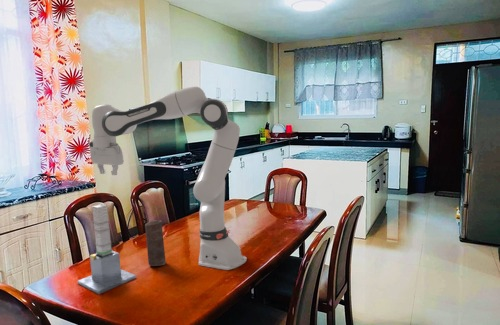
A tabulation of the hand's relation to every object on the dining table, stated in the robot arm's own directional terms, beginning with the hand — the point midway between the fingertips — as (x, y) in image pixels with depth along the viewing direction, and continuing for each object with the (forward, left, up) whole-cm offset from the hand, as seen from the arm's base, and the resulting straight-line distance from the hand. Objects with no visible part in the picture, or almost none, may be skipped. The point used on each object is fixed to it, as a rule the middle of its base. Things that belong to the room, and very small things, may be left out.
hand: (108, 174), depth 153 cm
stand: (-12, +12, -41) cm, 44 cm away
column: (-12, +12, -32) cm, 36 cm away
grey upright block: (-17, -9, -41) cm, 46 cm away
